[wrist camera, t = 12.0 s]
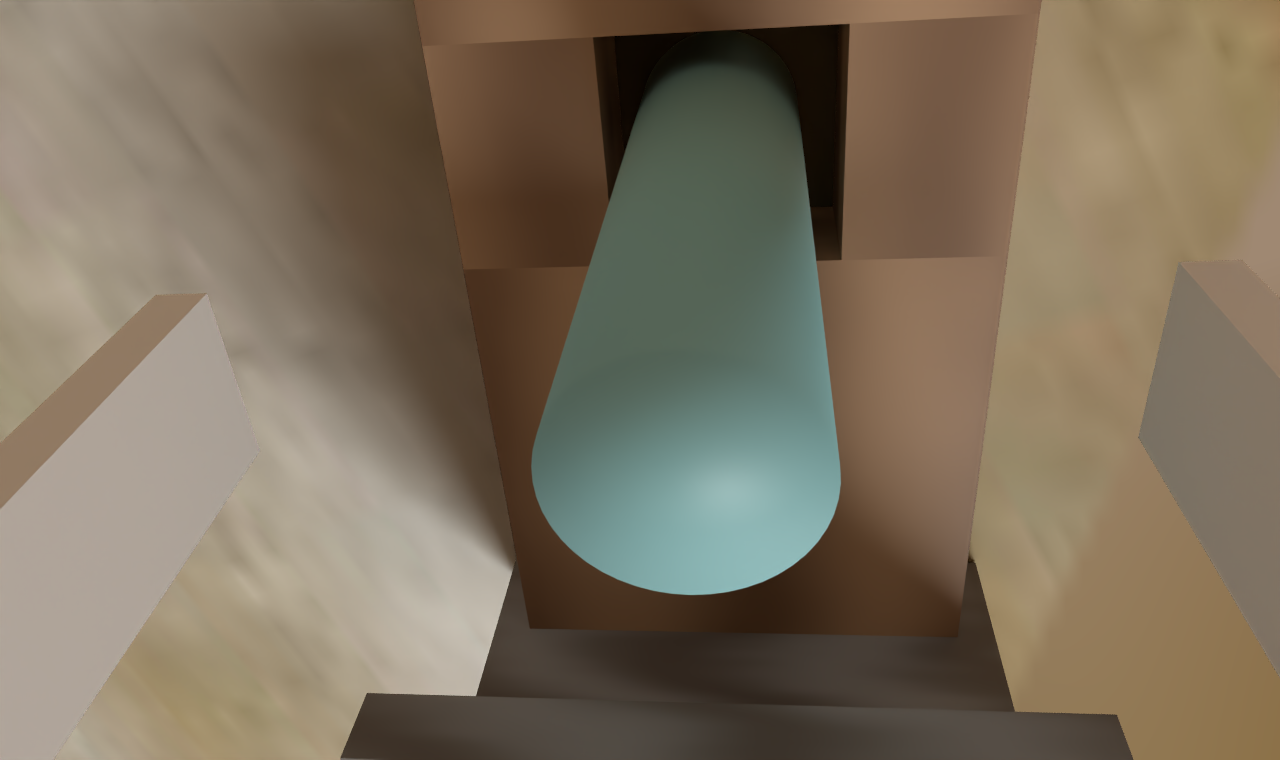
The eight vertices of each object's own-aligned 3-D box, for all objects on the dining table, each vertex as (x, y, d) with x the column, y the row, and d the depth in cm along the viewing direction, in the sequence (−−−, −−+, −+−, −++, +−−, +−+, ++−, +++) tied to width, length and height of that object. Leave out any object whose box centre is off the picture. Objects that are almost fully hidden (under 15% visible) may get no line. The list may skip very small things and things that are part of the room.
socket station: (520, 580, 32) (414, 963, 22) (394, -106, 22) (78, 28, 12) (971, 587, 31) (1077, 1004, 20) (1073, -155, 20) (1398, -48, 10)
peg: (647, 184, 25) (549, 592, 13) (637, 33, 23) (511, 351, 11) (796, 179, 24) (835, 597, 12) (798, 25, 22) (847, 347, 11)
